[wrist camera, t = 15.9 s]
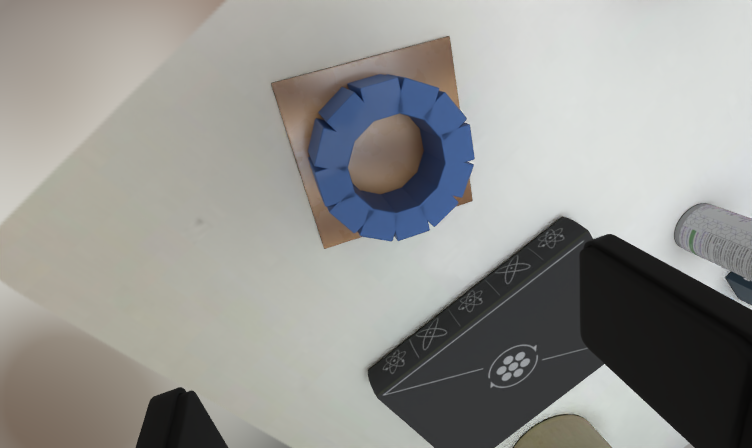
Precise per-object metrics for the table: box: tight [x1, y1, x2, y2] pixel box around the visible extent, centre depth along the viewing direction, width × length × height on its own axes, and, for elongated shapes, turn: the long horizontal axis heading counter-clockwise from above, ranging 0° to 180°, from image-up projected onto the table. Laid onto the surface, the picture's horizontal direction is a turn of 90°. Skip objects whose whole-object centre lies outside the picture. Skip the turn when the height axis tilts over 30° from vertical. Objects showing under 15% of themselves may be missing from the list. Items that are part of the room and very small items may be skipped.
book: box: [368, 217, 604, 448], centre depth 38 cm, size 22×15×3 cm
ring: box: [308, 74, 474, 241], centre depth 27 cm, size 10×10×4 cm
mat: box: [271, 36, 473, 249], centre depth 29 cm, size 12×12×1 cm
